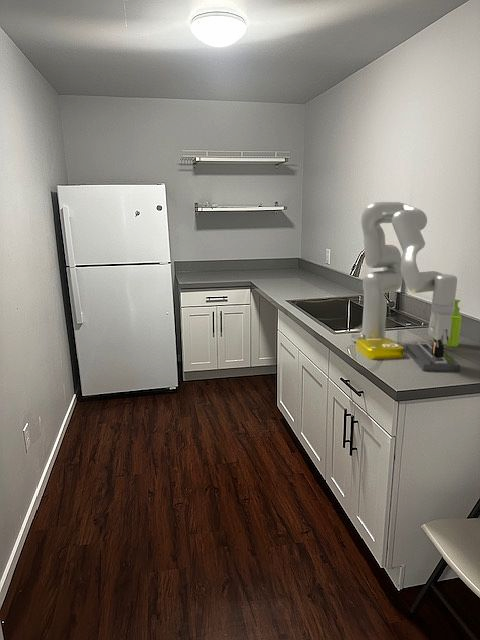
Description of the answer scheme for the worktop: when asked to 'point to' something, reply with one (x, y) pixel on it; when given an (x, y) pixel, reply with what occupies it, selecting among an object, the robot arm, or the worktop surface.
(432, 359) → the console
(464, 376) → the worktop surface
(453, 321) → the soap dispenser
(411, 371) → the worktop surface
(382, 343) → the element tile
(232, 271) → the worktop surface
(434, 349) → the fader knob
